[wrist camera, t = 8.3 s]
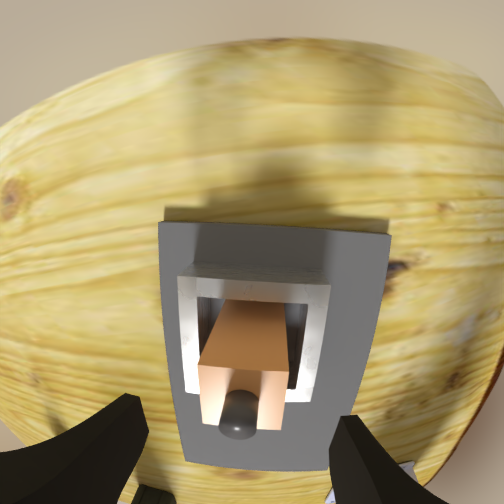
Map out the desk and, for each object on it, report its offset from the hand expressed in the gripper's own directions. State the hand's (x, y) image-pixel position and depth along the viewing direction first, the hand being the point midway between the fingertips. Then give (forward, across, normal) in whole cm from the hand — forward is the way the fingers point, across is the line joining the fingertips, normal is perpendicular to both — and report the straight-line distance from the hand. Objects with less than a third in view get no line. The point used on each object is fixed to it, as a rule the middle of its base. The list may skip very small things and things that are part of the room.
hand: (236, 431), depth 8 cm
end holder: (+10, 0, 0) cm, 10 cm away
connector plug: (+9, 0, 0) cm, 9 cm away
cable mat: (+10, -1, +6) cm, 11 cm away
